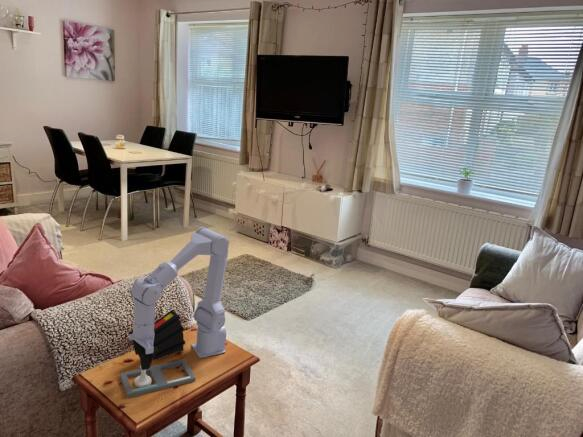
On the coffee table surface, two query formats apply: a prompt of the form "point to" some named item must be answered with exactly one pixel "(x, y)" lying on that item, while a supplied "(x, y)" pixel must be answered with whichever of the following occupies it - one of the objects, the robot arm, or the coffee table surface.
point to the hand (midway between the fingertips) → (142, 361)
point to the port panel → (157, 378)
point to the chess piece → (143, 379)
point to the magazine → (168, 335)
